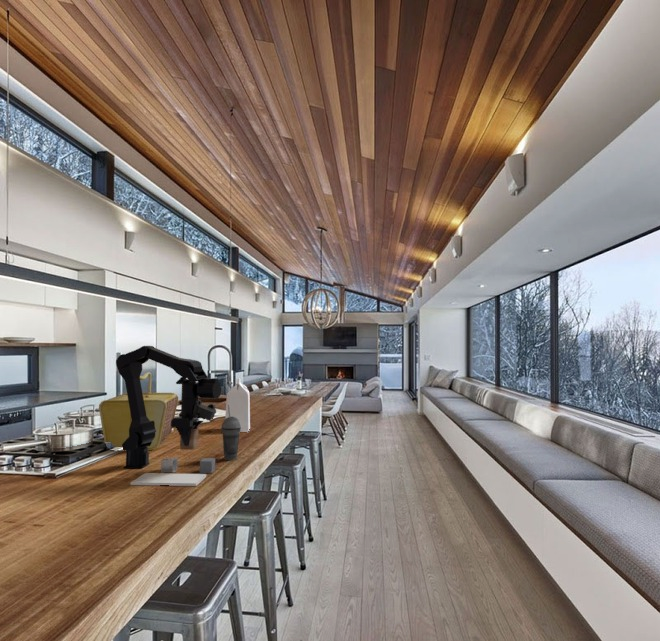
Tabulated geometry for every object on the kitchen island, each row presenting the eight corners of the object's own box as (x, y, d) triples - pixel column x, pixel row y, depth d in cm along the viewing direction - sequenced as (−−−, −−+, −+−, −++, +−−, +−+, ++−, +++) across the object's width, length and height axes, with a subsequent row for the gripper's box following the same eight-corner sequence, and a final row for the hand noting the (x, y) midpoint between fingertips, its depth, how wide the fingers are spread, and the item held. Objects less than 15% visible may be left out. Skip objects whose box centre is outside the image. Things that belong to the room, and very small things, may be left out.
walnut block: (180, 449, 151) (180, 431, 151) (184, 446, 155) (185, 428, 155) (193, 449, 150) (193, 431, 151) (197, 446, 155) (198, 428, 155)
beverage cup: (235, 462, 165) (236, 406, 166) (217, 460, 166) (218, 405, 167) (243, 457, 172) (244, 404, 173) (225, 456, 173) (226, 403, 174)
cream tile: (130, 484, 137) (130, 482, 137) (145, 475, 147) (145, 473, 147) (196, 486, 136) (196, 483, 136) (206, 476, 146) (206, 474, 146)
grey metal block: (160, 472, 151) (161, 460, 151) (165, 469, 155) (165, 457, 155) (172, 472, 150) (173, 460, 151) (177, 469, 154) (177, 457, 155)
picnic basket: (164, 451, 180) (166, 375, 182) (95, 453, 177) (98, 376, 178) (177, 436, 209) (179, 371, 211) (118, 438, 205) (120, 371, 207)
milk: (227, 428, 232) (228, 377, 233) (250, 428, 233) (250, 377, 234) (224, 432, 220) (225, 378, 221) (248, 432, 221) (249, 378, 222)
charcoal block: (199, 473, 150) (199, 461, 150) (203, 470, 154) (203, 458, 154) (211, 473, 150) (211, 461, 150) (215, 470, 154) (215, 458, 154)
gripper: (205, 401, 144) (204, 451, 143) (221, 394, 163) (220, 438, 162) (170, 400, 144) (169, 450, 144) (190, 394, 163) (189, 438, 162)
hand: (189, 444), depth 153 cm, fingers closed on walnut block, 4 cm apart
